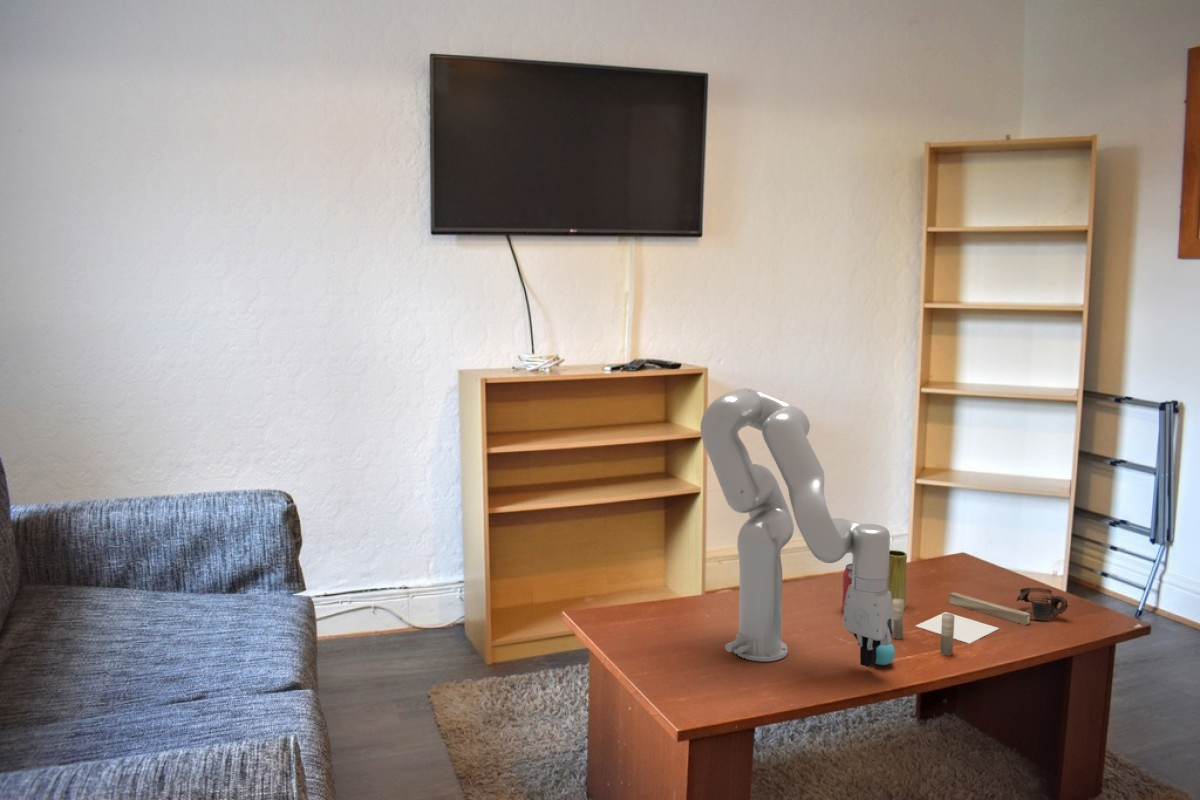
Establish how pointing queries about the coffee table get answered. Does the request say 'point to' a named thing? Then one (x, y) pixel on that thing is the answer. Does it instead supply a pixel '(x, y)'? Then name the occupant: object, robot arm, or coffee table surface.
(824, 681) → the coffee table surface
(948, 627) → the post right
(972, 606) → the rail
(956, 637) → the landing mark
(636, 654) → the coffee table surface
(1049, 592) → the pottery mug
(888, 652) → the ball
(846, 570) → the beer can
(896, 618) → the post left
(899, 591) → the vase
